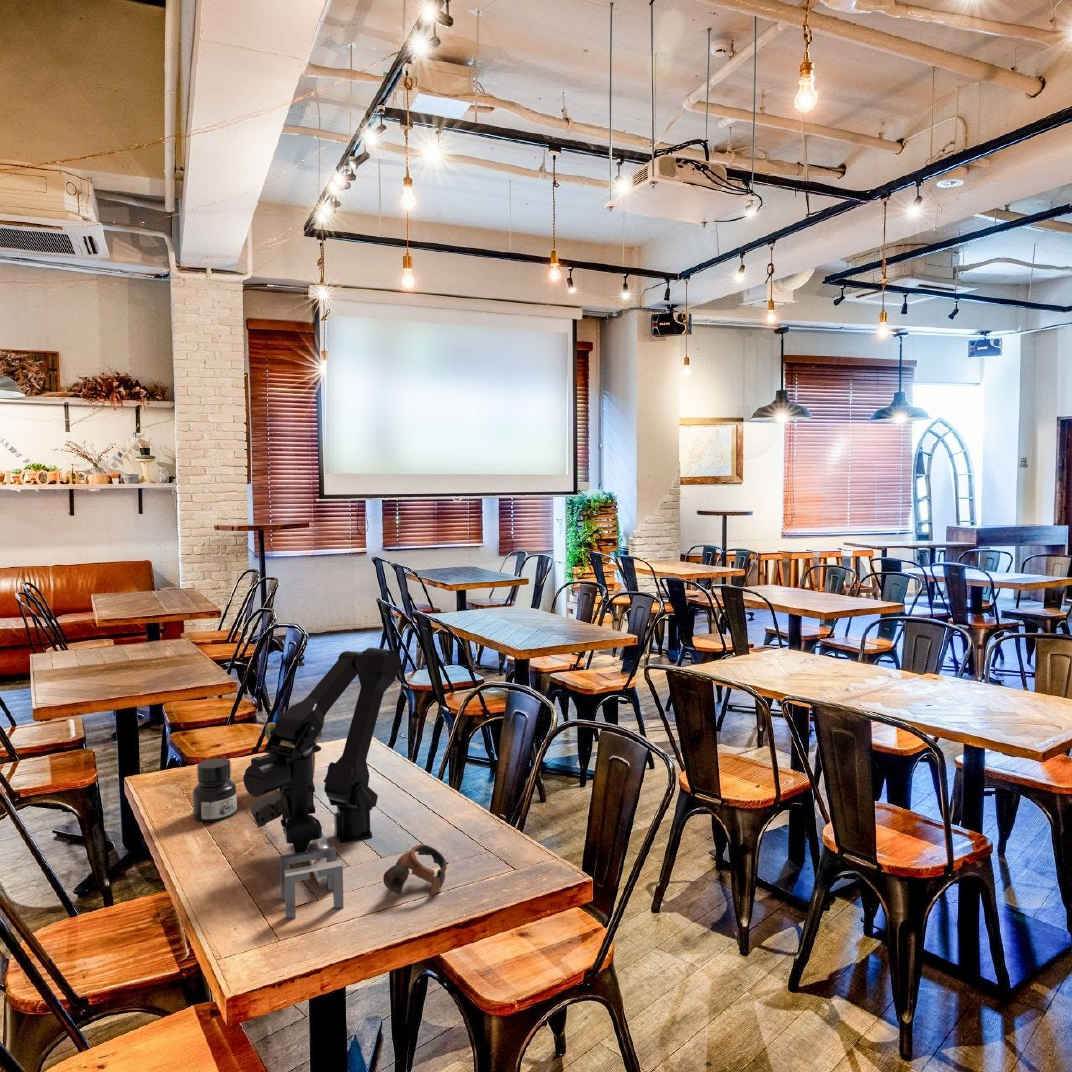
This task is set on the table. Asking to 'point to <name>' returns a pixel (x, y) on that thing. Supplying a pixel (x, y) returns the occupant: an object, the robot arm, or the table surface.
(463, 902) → the table surface
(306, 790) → the robot arm
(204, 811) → the ink bottle
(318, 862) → the air tube
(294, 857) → the arch block
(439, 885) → the brown headphones
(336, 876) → the arch block
